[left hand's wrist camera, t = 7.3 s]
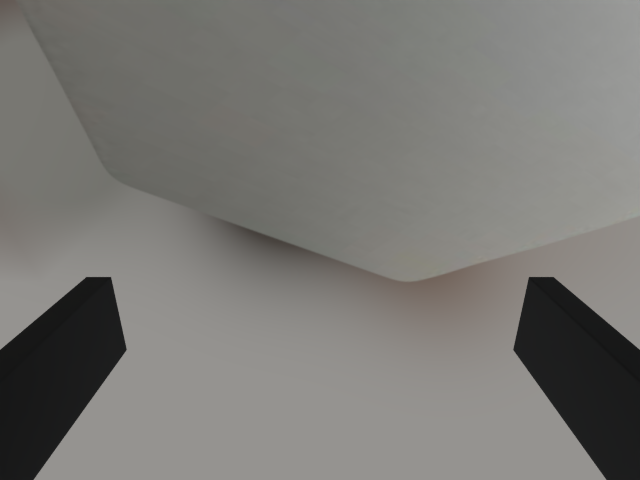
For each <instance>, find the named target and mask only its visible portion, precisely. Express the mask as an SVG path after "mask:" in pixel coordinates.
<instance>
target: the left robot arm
mask: <svg viewBox="0 0 640 480" xmlns="http://www.w3.org/2000/svg"><path fill="white" fill-rule="evenodd" d="M125 351H126V345H125V340H124V335H123V331H122V326H121V321H120V317H119V312H118V308H117V303H116V298H115V294H114V289H113V284H112V280H111V277H86V278H85V279H84V280H83V281H81V282H80V283H79V284H78V285H77V286H75V287H74V288H73V289H72V290H71V291H70V292H68V293H67V294H66V295H65V296H64V297H62V298H61V299H60V300H59V301H58V302H57V303H55V304H54V305H53V306H52V307H51V308H49V309H48V310H47V311H46V312H45V313H43V314H42V315H41V316H40V317H39V318H38V319H36V320H35V321H34V322H33V323H32V324H30V325H29V326H28V327H27V328H26V329H24V330H23V331H22V332H21V333H20V334H19V335H17V336H16V337H15V338H14V339H13V340H12V341H10V342H9V343H8V344H7V345H5V346H4V347H3V348H2V349H1V350H0V480H34V478H35V477H36V475H37V474H38V473H39V471H40V470H41V468H42V467H43V466H44V464H45V463H46V461H47V460H48V459H49V457H50V456H51V454H52V453H53V452H54V450H55V449H56V448H57V446H58V445H59V443H60V442H61V441H62V439H63V438H64V436H65V435H66V434H67V432H68V431H69V429H70V428H71V427H72V425H73V424H74V422H75V421H76V420H77V418H78V417H79V416H80V414H81V413H82V411H83V410H84V409H85V407H86V406H87V404H88V403H89V402H90V400H91V399H92V397H93V396H94V395H95V393H96V392H97V390H98V389H99V388H100V386H101V385H102V383H103V382H104V381H105V379H106V378H107V376H108V375H109V374H110V372H111V371H112V370H113V368H114V367H115V365H116V364H117V363H118V361H119V360H120V358H121V357H122V356H123V354H124V353H125ZM514 351H515V353H516V354H517V355H518V357H519V358H520V360H521V361H522V363H523V364H524V365H525V367H526V368H527V370H528V371H529V372H530V374H531V375H532V376H533V378H534V379H535V381H536V382H537V383H538V385H539V386H540V388H541V389H542V390H543V392H544V393H545V395H546V396H547V397H548V399H549V400H550V402H551V403H552V404H553V406H554V407H555V409H556V410H557V411H558V413H559V414H560V416H561V417H562V418H563V420H564V421H565V422H566V424H567V425H568V427H569V428H570V429H571V431H572V432H573V434H574V435H575V436H576V438H577V439H578V441H579V442H580V443H581V445H582V446H583V448H584V449H585V450H586V452H587V453H588V454H589V456H590V457H591V459H592V460H593V461H594V463H595V464H596V466H597V467H598V468H599V470H600V471H601V473H602V474H603V475H604V477H605V478H606V480H640V350H639V349H638V348H637V347H636V346H635V345H633V344H632V343H631V342H630V341H629V340H627V339H626V338H625V337H624V336H623V335H621V334H620V333H619V332H618V331H617V330H616V329H614V328H613V327H612V326H611V325H610V324H608V323H607V322H606V321H605V320H604V319H602V318H601V317H600V316H599V315H598V314H597V313H595V312H594V311H593V310H592V309H591V308H589V307H588V306H587V305H586V304H585V303H583V302H582V301H581V300H580V299H579V298H578V297H576V296H575V295H574V294H573V293H572V292H570V291H569V290H568V289H567V288H566V287H565V286H563V285H562V284H561V283H560V282H559V281H557V280H556V279H555V278H554V277H529V280H528V285H527V289H526V294H525V298H524V303H523V308H522V312H521V317H520V321H519V326H518V331H517V335H516V340H515V345H514Z"/></svg>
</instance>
